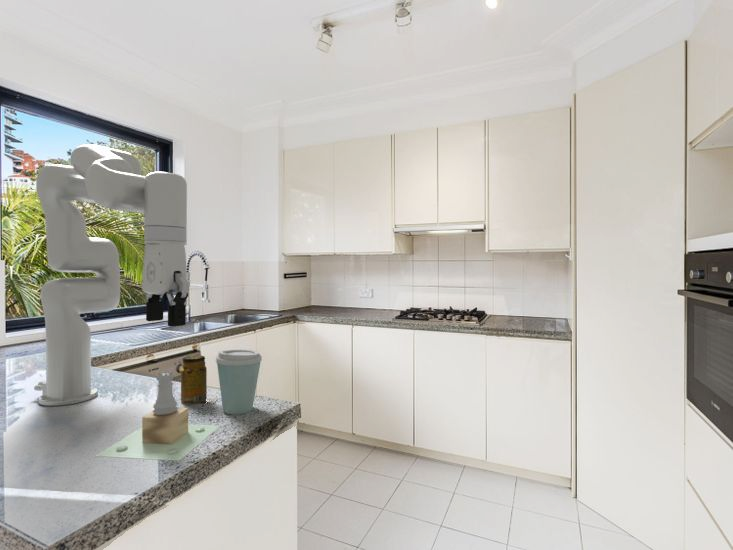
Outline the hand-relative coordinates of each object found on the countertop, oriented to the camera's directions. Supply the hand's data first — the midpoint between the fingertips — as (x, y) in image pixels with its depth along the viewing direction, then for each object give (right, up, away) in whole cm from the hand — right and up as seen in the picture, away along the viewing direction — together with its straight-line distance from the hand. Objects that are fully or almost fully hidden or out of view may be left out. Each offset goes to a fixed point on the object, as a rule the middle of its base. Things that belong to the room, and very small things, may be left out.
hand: (165, 323), depth 81 cm
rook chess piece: (0, -18, 0) cm, 18 cm away
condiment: (-3, -24, +23) cm, 33 cm away
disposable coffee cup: (+9, -24, +17) cm, 30 cm away
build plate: (0, -24, -1) cm, 24 cm away
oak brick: (0, -23, 0) cm, 23 cm away
